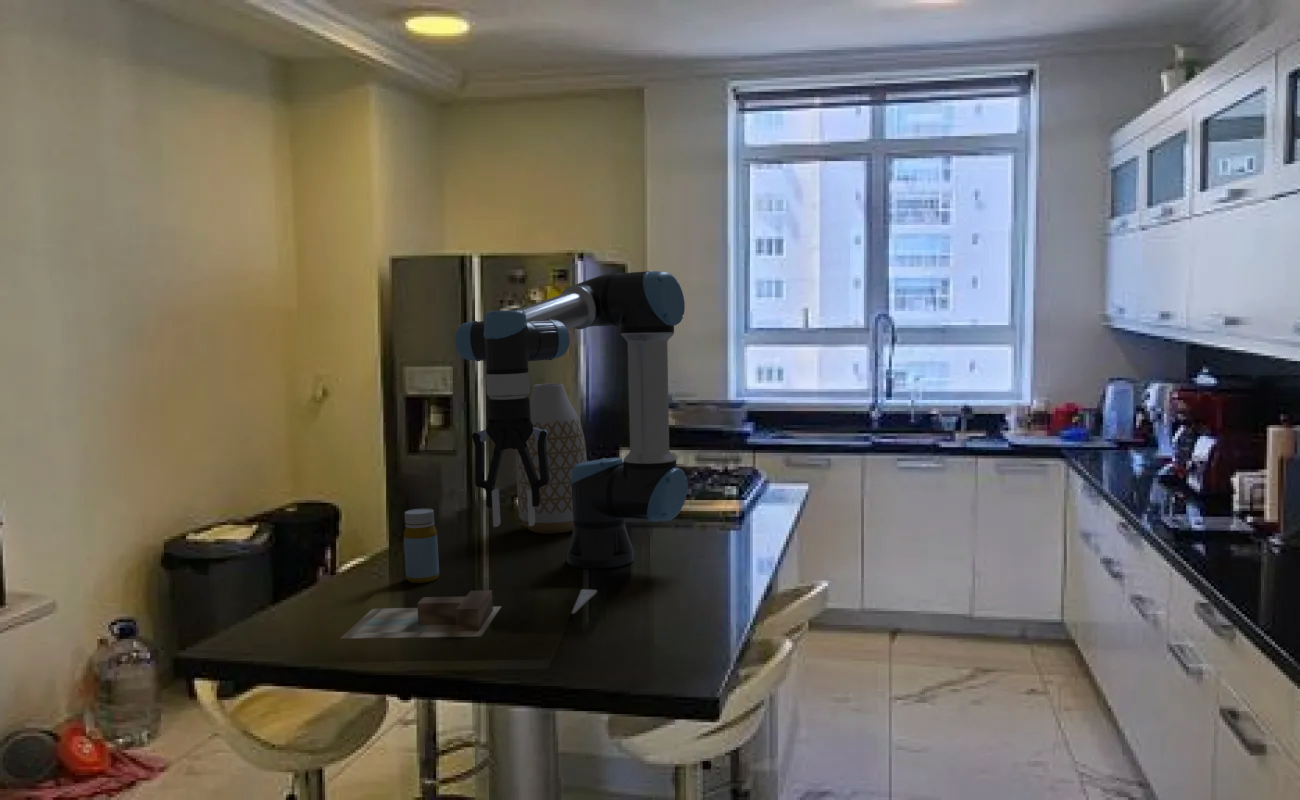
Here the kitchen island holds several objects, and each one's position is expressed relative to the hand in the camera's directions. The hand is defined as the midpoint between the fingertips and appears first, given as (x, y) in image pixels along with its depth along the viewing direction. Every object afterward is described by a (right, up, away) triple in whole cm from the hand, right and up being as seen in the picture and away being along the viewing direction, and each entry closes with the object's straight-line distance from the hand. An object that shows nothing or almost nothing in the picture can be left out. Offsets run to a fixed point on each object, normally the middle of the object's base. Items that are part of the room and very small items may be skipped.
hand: (514, 524), depth 188 cm
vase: (0, -12, +85) cm, 86 cm away
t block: (-11, -18, +2) cm, 21 cm away
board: (-17, -19, +3) cm, 26 cm away
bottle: (-25, -17, +38) cm, 48 cm away
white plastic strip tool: (+10, -18, +16) cm, 26 cm away
